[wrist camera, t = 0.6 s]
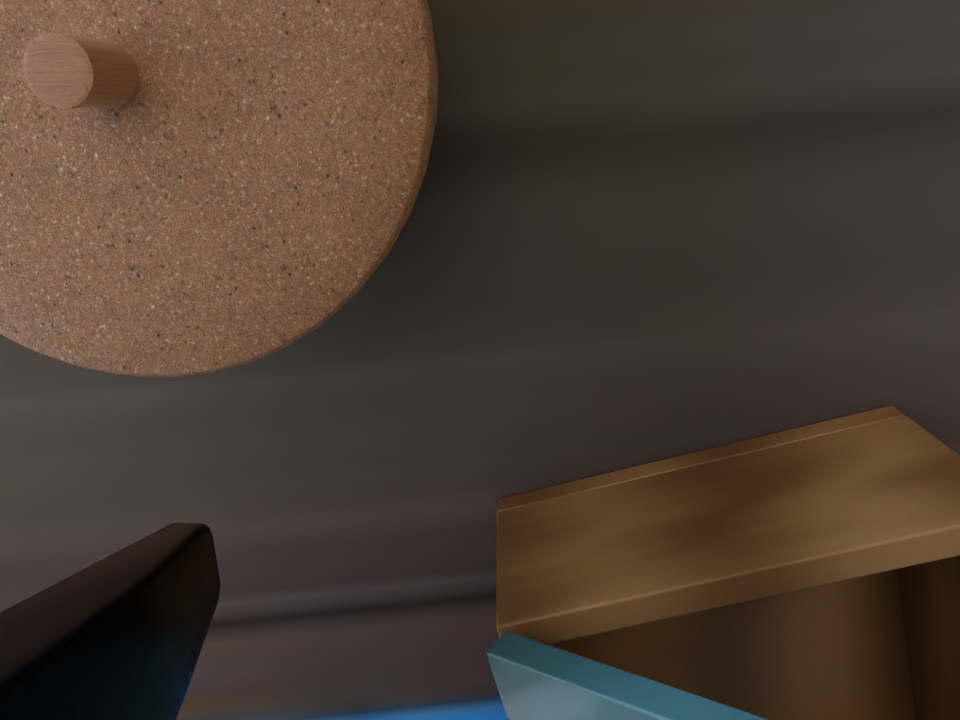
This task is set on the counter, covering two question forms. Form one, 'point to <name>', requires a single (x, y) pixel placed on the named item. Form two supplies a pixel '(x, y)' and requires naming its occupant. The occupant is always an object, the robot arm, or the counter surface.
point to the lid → (588, 688)
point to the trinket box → (202, 171)
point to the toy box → (757, 571)
